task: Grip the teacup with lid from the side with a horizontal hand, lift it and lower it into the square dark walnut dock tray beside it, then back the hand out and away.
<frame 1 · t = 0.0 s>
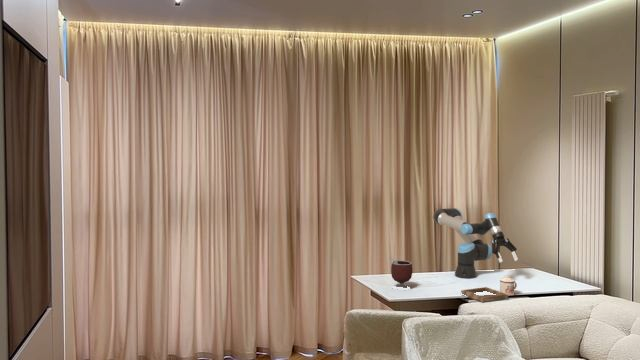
hand: (509, 261, 411), 15 cm above the table, tool tilted 35°, fingers open, 13 cm apart
dock tray: (484, 297, 376), on the table
mate gourd: (400, 288, 397), on the table
teacup with lid: (508, 294, 385), on the table
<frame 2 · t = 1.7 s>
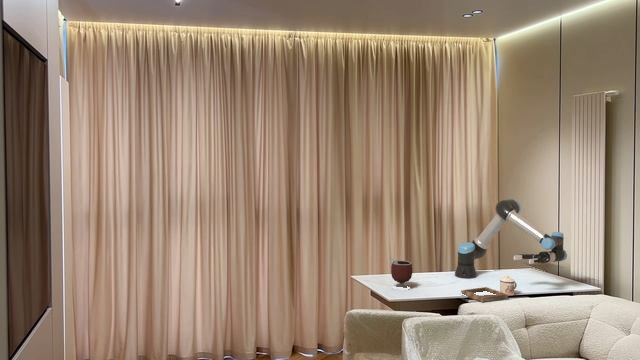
hand: (521, 259, 388), 21 cm above the table, tool horizontal, fingers open, 13 cm apart
nothing on the table moved.
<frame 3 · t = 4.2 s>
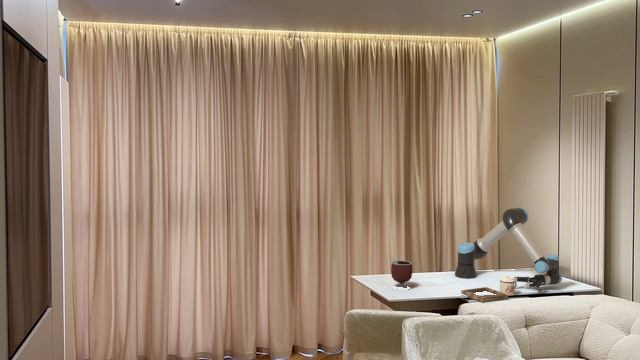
hand: (516, 283, 386), 6 cm above the table, tool horizontal, fingers open, 13 cm apart
nothing on the table moved.
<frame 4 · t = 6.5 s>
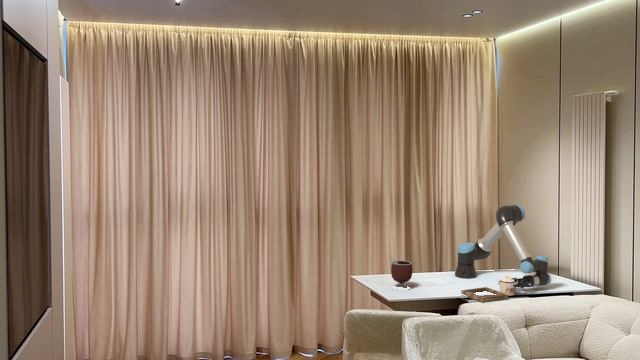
hand: (503, 284, 382), 7 cm above the table, tool horizontal, fingers closed on teacup with lid, 9 cm apart
teacup with lid: (508, 294, 385), on the table, touching gripper
everything else where it was.
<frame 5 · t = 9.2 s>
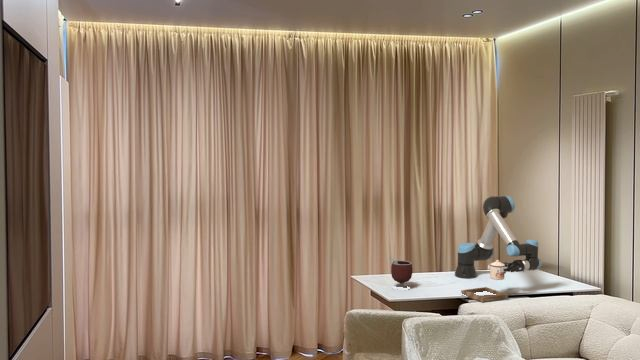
hand: (493, 268, 376), 18 cm above the table, tool horizontal, fingers closed on teacup with lid, 9 cm apart
teacup with lid: (498, 278, 378), point 11 cm above the table, touching gripper
everything else where it was.
when the fingers open (8 cm above the table, at t = 12.3 s): teacup with lid drops 1 cm, resting on dock tray.
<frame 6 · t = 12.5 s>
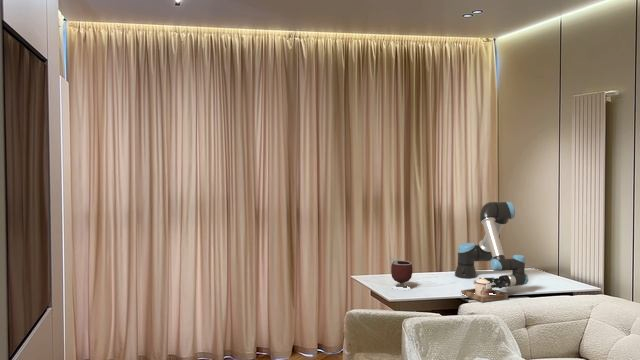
hand: (479, 284, 374), 8 cm above the table, tool horizontal, fingers open, 11 cm apart
teacup with lid: (484, 295, 376), point 1 cm above the table, touching dock tray
everything else where it was.
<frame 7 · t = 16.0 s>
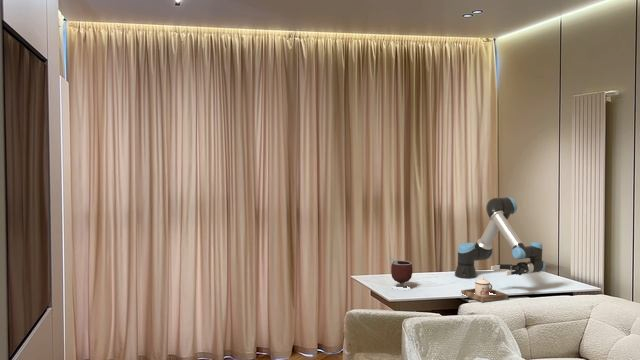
hand: (498, 270, 379), 16 cm above the table, tool horizontal, fingers open, 13 cm apart
nothing on the table moved.
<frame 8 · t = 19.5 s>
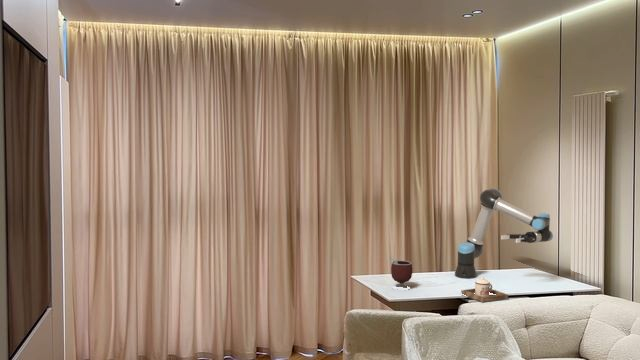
hand: (508, 239, 401), 32 cm above the table, tool horizontal, fingers open, 13 cm apart
nothing on the table moved.
at the end: teacup with lid inside the target area on the dock tray (0.2 cm from its centre), point 0.6 cm above the dock tray's base; teacup with lid tilted 0°; the gripper is holding nothing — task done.
